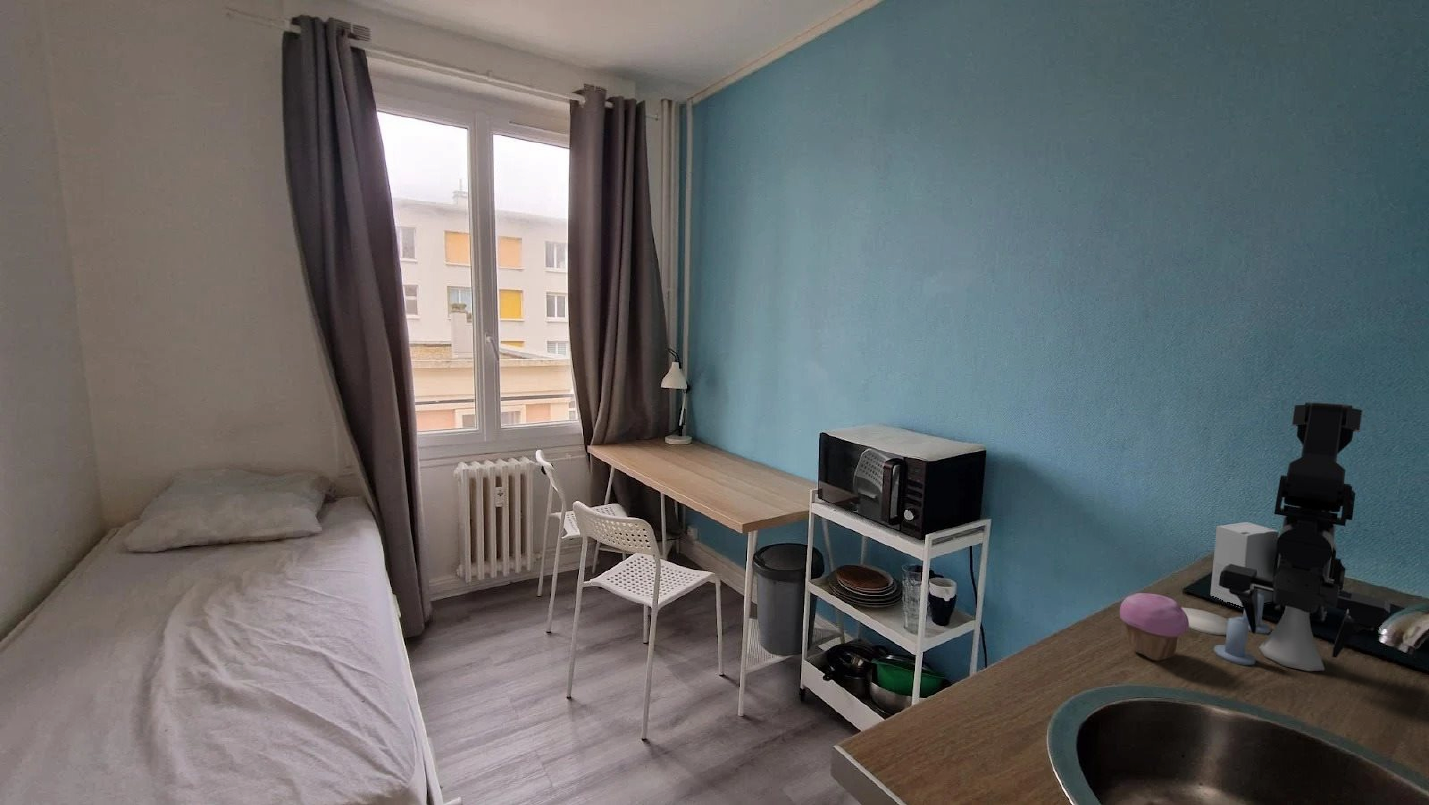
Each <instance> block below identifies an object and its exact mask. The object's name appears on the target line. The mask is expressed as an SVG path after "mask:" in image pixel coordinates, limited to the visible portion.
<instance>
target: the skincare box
mask: <svg viewBox="0 0 1429 805" xmlns="http://www.w3.org/2000/svg"><path fill="white" fill-rule="evenodd" d="M1215 532H1216V534H1215V543H1214V544H1215V545H1214V551H1213V552H1214V553H1213V554H1214V555H1213V562H1212V564H1213V565H1212V574H1211V582H1210V584H1211V585H1210V596H1211V597H1212V596H1214V597H1213V598H1215V597H1217V598H1219V599H1218V600H1220V599H1221V600H1220V601H1222V600H1223V602H1225V603H1227V602H1230V603H1233V604H1236V605H1239V606H1241V607H1243V605H1242V603H1241V601H1240V600H1239V598H1238V597H1237V596H1236V595H1233V594H1231V593H1229V589H1227V588H1223V587H1221V586H1219V580H1220V574H1221V571H1222V570H1223V569H1224V568H1225V567H1226V566H1227V565H1229V564H1233V565H1238V566H1242V567H1246V568H1250V569H1255V570H1257V577H1262V578H1266V579H1270V580H1273V574H1274V564H1275V555H1276V549H1277V540H1278V537H1279V535H1280V531H1279V530H1277V529H1273V528H1269V527H1267V526H1262V525H1258V524H1255V523H1253V522H1248V521H1245V522H1238V523H1231V524H1224V525H1223V524H1222V525H1217V526H1216V531H1215ZM1258 594H1261V595H1263V596H1264V603H1266V602H1271V603H1272V602H1273V592H1270V591H1266V590H1262V589H1258ZM1217 598H1216V599H1217Z"/></svg>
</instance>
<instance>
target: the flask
mask: <svg viewBox="0 0 1429 805" xmlns="http://www.w3.org/2000/svg"><path fill="white" fill-rule="evenodd" d="M1309 615H1310V613H1308V612H1304V611H1302V610H1300V609H1296V608H1293V607H1289V606H1285V611H1284V613H1282V615H1281V618H1280V620H1279V622H1278V623H1277V624H1276V625H1275V627H1274V628H1273V630H1272V631H1270V633H1269V635H1268V636H1267V637H1266V638H1265V640H1264V641H1263V642H1262V643H1261V644H1260V646H1259V650H1260V651H1261V653H1262V654H1263V656H1264V657H1266V658H1268V659H1270V660H1272V661H1274V662H1276V663H1277V664H1280V665H1281V666H1283V667H1287V668H1293V669H1298V670H1301V671H1305V672H1314V671H1315V672H1316V671H1325V667H1324V664H1323V660H1322V657H1321V655H1320V653H1319V649H1318V646H1317V644H1316V641H1315V638H1314V635H1313V631H1312V628H1311V620H1310V619H1309Z"/></svg>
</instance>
